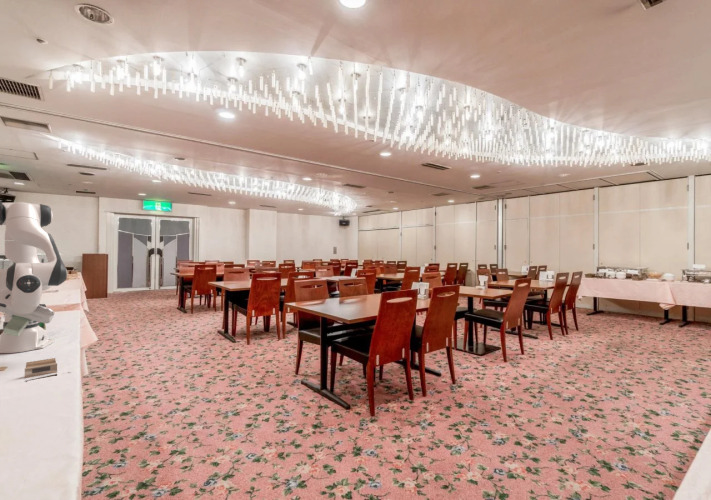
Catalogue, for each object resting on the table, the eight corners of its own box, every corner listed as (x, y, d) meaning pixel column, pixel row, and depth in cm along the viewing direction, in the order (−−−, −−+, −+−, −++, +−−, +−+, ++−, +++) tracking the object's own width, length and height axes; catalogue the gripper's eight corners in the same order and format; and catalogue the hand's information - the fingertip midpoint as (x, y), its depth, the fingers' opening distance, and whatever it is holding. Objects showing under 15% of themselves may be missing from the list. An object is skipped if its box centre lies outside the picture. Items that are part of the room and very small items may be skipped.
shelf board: (26, 365, 142) (26, 355, 142) (55, 360, 148) (55, 351, 148) (24, 381, 124) (24, 369, 124) (57, 375, 131) (57, 364, 131)
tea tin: (19, 331, 142) (38, 306, 152) (4, 327, 140) (24, 302, 149) (18, 336, 145) (37, 311, 154) (3, 333, 143) (23, 307, 152)
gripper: (59, 305, 148) (54, 320, 155) (-1, 288, 138) (-2, 304, 146) (50, 317, 143) (46, 332, 151) (-12, 300, 134) (-13, 317, 141)
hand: (22, 318), depth 148 cm, fingers closed on tea tin, 5 cm apart
